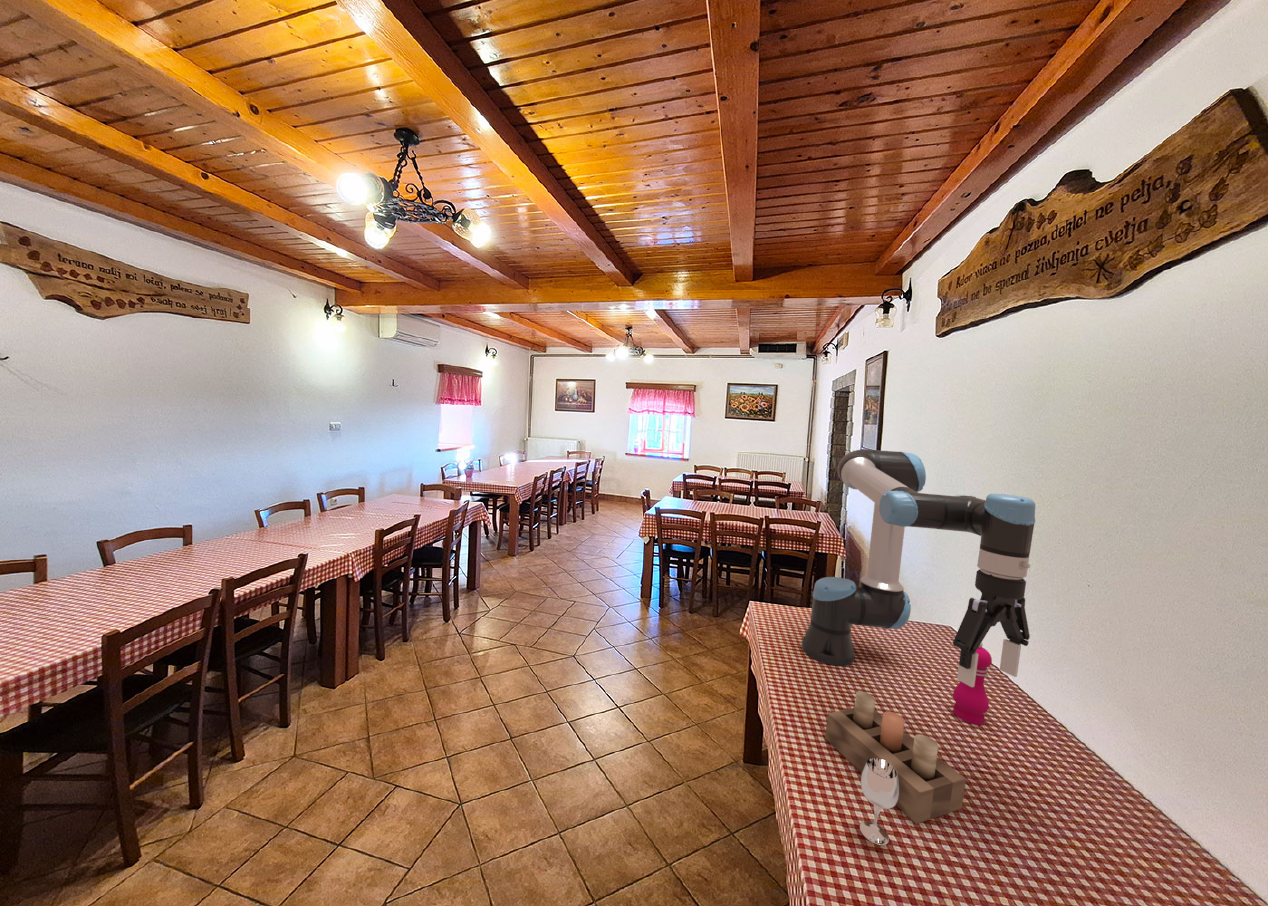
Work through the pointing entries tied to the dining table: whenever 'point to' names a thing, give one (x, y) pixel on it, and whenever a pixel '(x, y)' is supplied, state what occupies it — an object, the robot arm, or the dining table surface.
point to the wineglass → (879, 795)
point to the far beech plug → (864, 710)
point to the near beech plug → (924, 756)
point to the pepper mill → (973, 693)
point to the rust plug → (892, 731)
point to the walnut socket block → (897, 767)
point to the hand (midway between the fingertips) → (987, 678)
